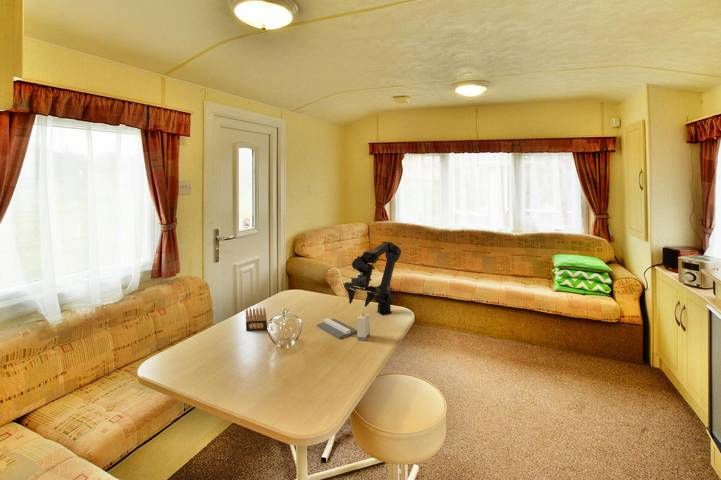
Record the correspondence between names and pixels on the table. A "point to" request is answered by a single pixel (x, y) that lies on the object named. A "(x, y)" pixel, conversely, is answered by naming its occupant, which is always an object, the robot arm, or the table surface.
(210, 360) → the table surface
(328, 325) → the mounting board
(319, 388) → the table surface
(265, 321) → the ammunition clip
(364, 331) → the block
